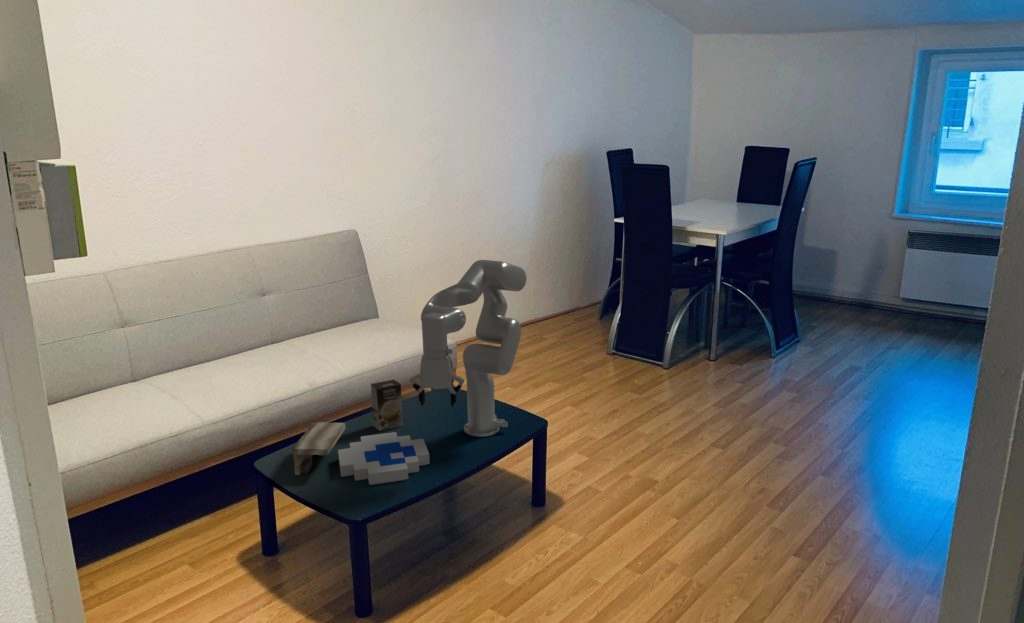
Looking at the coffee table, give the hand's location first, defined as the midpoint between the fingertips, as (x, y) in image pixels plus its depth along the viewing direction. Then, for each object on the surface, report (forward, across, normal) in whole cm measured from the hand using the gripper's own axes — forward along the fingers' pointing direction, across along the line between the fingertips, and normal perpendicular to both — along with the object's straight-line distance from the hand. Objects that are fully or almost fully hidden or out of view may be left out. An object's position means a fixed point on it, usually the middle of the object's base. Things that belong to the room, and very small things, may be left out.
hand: (438, 404), depth 247 cm
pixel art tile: (+21, +19, +1) cm, 28 cm away
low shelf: (+20, +39, +2) cm, 44 cm away
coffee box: (+21, +25, -27) cm, 42 cm away
